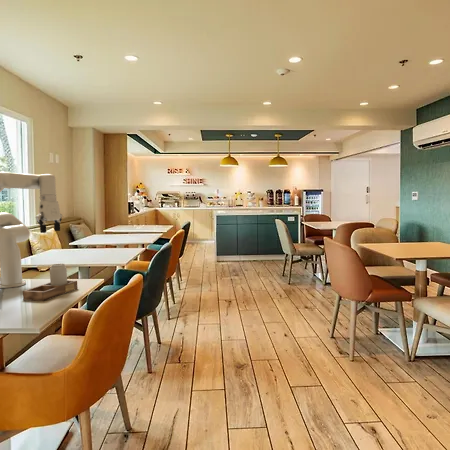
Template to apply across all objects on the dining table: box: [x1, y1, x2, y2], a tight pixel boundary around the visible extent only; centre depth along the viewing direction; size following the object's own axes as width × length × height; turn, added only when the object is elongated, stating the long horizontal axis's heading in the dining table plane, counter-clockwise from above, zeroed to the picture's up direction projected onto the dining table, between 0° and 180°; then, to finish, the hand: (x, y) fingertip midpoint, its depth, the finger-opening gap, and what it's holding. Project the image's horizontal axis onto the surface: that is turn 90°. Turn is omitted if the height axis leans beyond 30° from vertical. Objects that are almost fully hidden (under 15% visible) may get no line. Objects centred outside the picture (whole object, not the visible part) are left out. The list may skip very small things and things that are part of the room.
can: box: [49, 263, 68, 286], centre depth 175 cm, size 8×8×12 cm
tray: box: [22, 279, 78, 302], centre depth 170 cm, size 12×22×4 cm, turn 164°
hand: (50, 231), depth 185 cm, fingers open, 9 cm apart
